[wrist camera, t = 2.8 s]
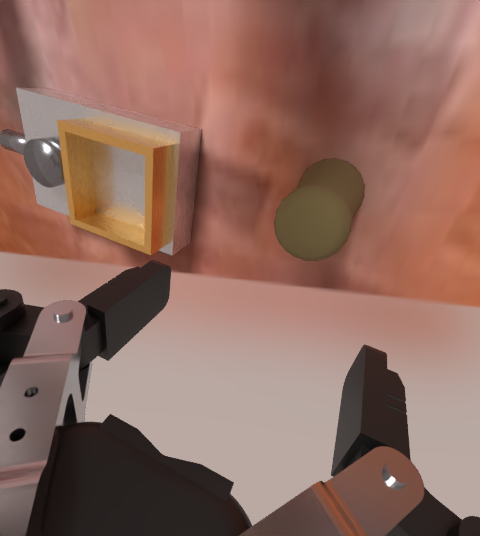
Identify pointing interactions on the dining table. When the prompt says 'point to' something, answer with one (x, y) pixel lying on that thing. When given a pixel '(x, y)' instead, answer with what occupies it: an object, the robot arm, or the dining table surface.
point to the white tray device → (110, 168)
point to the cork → (320, 210)
